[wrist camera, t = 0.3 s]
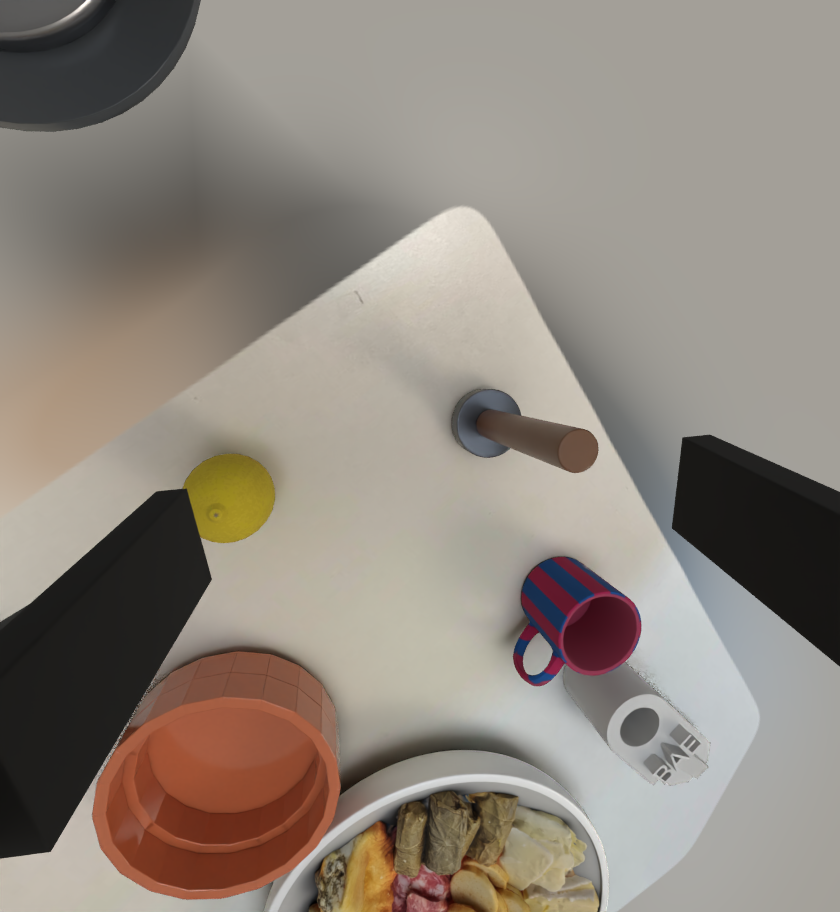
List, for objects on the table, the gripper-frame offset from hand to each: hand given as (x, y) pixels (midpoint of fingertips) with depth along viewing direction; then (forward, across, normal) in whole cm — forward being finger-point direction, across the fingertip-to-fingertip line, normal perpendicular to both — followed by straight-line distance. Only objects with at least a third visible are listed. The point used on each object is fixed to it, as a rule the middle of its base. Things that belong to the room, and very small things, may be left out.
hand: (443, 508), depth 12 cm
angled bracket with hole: (+21, +18, -34) cm, 44 cm away
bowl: (+16, -2, -46) cm, 48 cm away
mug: (+22, +10, -21) cm, 32 cm away
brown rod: (+24, +6, -5) cm, 25 cm away
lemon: (+21, -13, -7) cm, 26 cm away
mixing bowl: (+17, -16, -27) cm, 36 cm away
